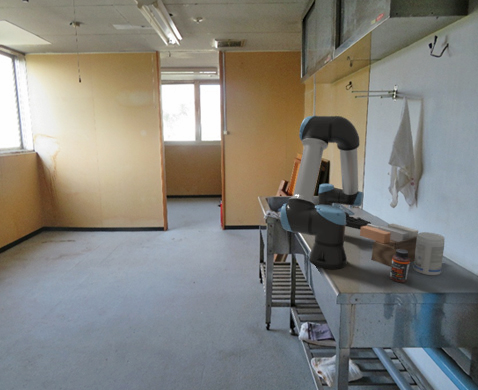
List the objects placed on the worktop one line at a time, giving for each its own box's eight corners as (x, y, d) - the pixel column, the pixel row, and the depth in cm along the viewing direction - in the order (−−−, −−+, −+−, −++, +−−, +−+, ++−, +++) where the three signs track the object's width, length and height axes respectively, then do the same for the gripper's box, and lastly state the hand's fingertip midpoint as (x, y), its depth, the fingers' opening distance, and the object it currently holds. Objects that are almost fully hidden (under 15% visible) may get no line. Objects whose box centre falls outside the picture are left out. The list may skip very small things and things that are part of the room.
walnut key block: (371, 259, 147) (373, 236, 145) (400, 250, 159) (402, 228, 156) (393, 268, 139) (396, 243, 137) (422, 258, 150) (425, 235, 148)
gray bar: (377, 235, 154) (378, 226, 153) (382, 234, 156) (383, 225, 155) (402, 243, 144) (403, 234, 143) (407, 241, 146) (408, 232, 145)
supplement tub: (440, 269, 139) (445, 234, 136) (440, 278, 130) (446, 241, 127) (413, 264, 143) (417, 230, 140) (412, 272, 135) (417, 236, 132)
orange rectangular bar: (359, 235, 153) (360, 226, 152) (365, 234, 155) (366, 225, 154) (383, 243, 143) (384, 234, 142) (389, 241, 145) (390, 232, 144)
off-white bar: (386, 233, 157) (387, 224, 156) (392, 231, 159) (393, 223, 159) (412, 240, 147) (413, 231, 147) (417, 239, 150) (418, 230, 149)
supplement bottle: (388, 280, 128) (391, 251, 125) (391, 274, 133) (394, 246, 130) (406, 284, 125) (410, 255, 122) (408, 278, 130) (411, 250, 127)
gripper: (346, 223, 178) (387, 236, 159) (329, 226, 171) (369, 240, 152) (348, 209, 177) (389, 220, 157) (330, 212, 170) (371, 224, 150)
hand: (379, 230), depth 154 cm, fingers closed
